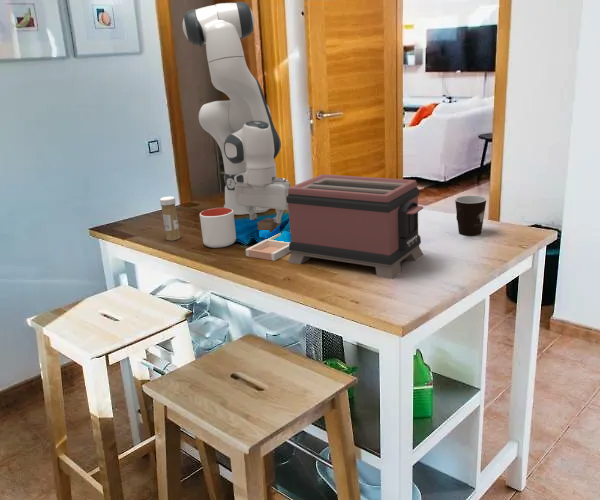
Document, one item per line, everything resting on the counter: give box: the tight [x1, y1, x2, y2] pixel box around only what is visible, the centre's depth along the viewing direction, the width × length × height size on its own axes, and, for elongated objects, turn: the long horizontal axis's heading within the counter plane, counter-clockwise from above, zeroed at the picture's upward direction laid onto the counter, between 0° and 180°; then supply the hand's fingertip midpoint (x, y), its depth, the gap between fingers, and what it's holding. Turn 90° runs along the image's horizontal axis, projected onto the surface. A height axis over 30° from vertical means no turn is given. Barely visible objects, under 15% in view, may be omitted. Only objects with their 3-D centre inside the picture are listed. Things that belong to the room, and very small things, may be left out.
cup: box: [199, 207, 237, 249], centre depth 181 cm, size 10×10×10 cm
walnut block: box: [256, 217, 281, 232], centre depth 186 cm, size 5×5×5 cm
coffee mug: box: [454, 195, 487, 237], centre depth 173 cm, size 12×9×10 cm
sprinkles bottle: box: [159, 196, 181, 242], centre depth 189 cm, size 5×5×14 cm
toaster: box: [286, 173, 424, 280], centre depth 158 cm, size 19×34×21 cm, turn 56°
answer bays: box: [245, 231, 291, 261], centre depth 174 cm, size 19×10×2 cm, turn 146°
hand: (265, 221), depth 184 cm, fingers open, 8 cm apart
